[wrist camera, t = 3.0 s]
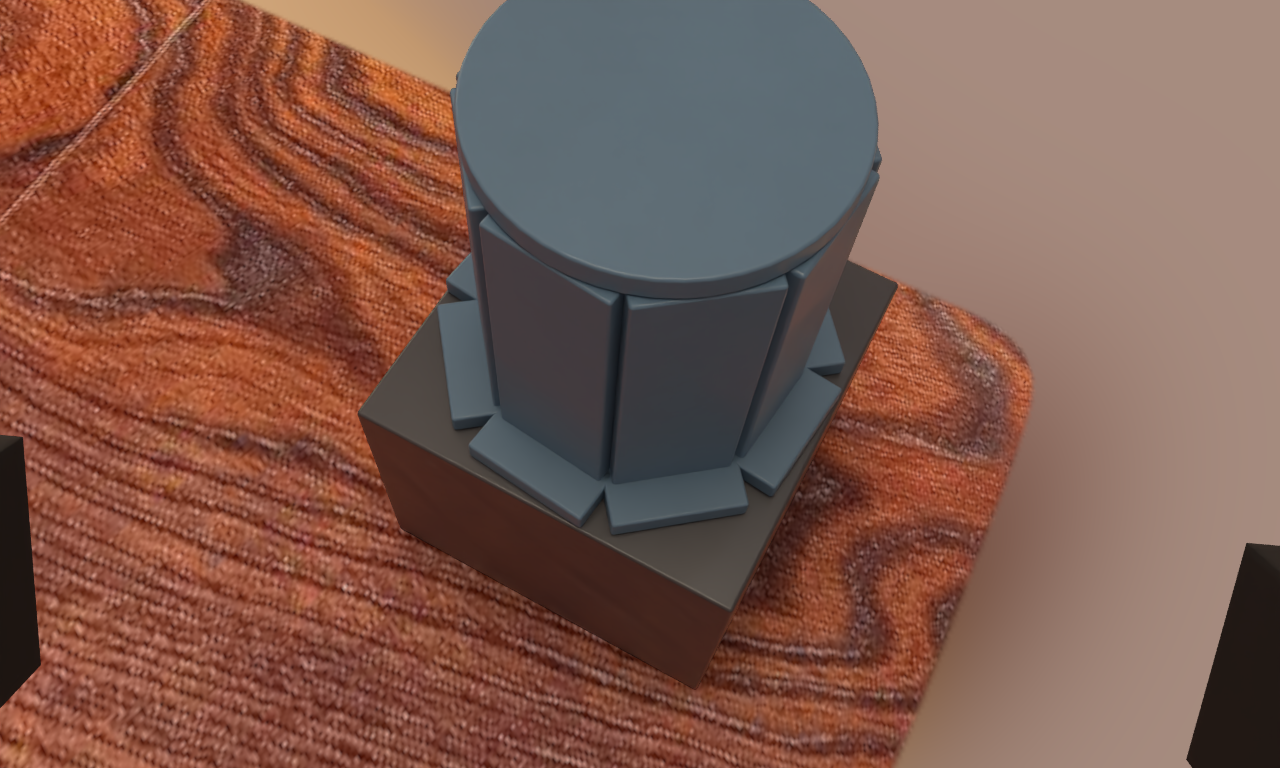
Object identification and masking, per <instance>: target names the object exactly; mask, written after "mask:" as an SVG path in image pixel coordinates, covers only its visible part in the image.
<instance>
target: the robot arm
mask: <svg viewBox="0 0 1280 768" xmlns="http://www.w3.org/2000/svg"><path fill="white" fill-rule="evenodd" d="M40 665H41V661H40V648H39V636H38V623H37V611H36V598H35V585H34V573H33V560H32V547H31V535H30V522H29V510H28V497H27V484H26V472H25V459H24V446H23V437H17V436H6V435H0V708H1V707H2V706H3V705H4V704H5V703H6V701H7V700H8V699H9V698H10V697H11V696H12V695H13V694H14V693H15V692H16V691H17V690H18V689H19V688H20V687H21V685H22V684H23V683H24V682H25V681H26V680H27V679H28V678H29V677H30V676H31V675H32V674H33V673H34V672H35V671H36V670H37V668H38V667H39V666H40ZM1186 760H1187V761H1188V762H1189V764H1190V765H1191V767H1192V768H1280V546H1275V545H1264V544H1252V543H1246V547H1245V551H1244V554H1243V557H1242V561H1241V565H1240V568H1239V572H1238V575H1237V580H1236V583H1235V586H1234V590H1233V594H1232V597H1231V601H1230V604H1229V608H1228V611H1227V615H1226V619H1225V622H1224V626H1223V629H1222V633H1221V637H1220V640H1219V644H1218V647H1217V651H1216V655H1215V658H1214V662H1213V665H1212V669H1211V673H1210V676H1209V680H1208V683H1207V687H1206V691H1205V694H1204V698H1203V702H1202V705H1201V709H1200V712H1199V716H1198V719H1197V723H1196V727H1195V730H1194V734H1193V738H1192V742H1191V745H1190V748H1189V752H1188V755H1187V759H1186Z"/></svg>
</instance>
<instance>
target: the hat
mask: <svg viewBox="0 0 1280 768" xmlns="http://www.w3.org/2000/svg"><path fill="white" fill-rule="evenodd" d="M456 80H457V84H456V88H452V89H451V91H450V96H451V104H452V111H453V119H454V126H455V134H456V141H457V149H458V156H459V164H460V171H461V179H462V186H463V194H464V201H465V209H466V216H467V224H468V232H469V239H470V247H471V253H470V254H469V255H468V256H467V257H466V258H465V259H464V260H463V261H462V262H461V264H460V265H459V266H458V267H457V268H456V269H455V270H454V271H453V272H452V273H451V275H450V276H449V277H448V278H447V279H446V284H447V290H448V292H449V293H451V294H452V295H454V296H456V297H457V298H459V299H460V300H462V302H455V303H447V304H440V305H438V306H437V312H438V320H439V327H440V335H441V342H442V350H443V358H444V365H445V373H446V381H447V388H448V396H449V404H450V411H451V419H452V424H453V428H454V429H455V430H459V429H465V428H472V427H479V426H483V428H482V429H481V430H480V431H479V432H478V434H477V435H476V436H475V437H474V438H473V440H472V441H471V442H470V443H469V451H470V455H471V456H473V457H474V458H475V459H477V460H478V461H480V462H481V463H483V464H484V465H486V466H487V467H489V468H490V469H492V470H493V471H495V472H496V473H498V474H499V475H501V476H502V477H504V478H505V479H507V480H508V481H510V482H511V483H513V484H514V485H516V486H517V487H519V488H520V489H522V490H523V491H525V492H526V493H528V494H529V495H531V496H532V497H534V498H535V499H537V500H538V501H540V502H541V503H543V504H544V505H545V506H547V507H548V508H550V509H551V510H553V511H554V512H556V513H557V514H559V515H560V516H562V517H563V518H565V519H566V520H568V521H569V522H571V523H572V524H574V525H575V526H577V527H579V528H580V527H582V526H583V524H584V523H585V522H586V520H587V519H588V518H589V516H590V515H591V514H592V512H593V511H594V510H595V508H596V507H597V506H598V504H599V503H600V502H601V500H602V499H603V498H604V501H605V507H606V512H607V517H608V522H609V528H610V532H611V534H613V535H616V534H622V533H628V532H634V531H640V530H646V529H652V528H658V527H665V526H671V525H677V524H683V523H689V522H695V521H701V520H707V519H713V518H720V517H726V516H732V515H738V514H744V513H745V512H746V510H747V508H748V505H749V501H748V497H747V493H746V489H745V485H744V481H743V480H745V481H746V482H748V483H749V484H751V485H753V486H754V487H756V488H757V489H759V490H760V491H762V492H764V493H765V494H767V495H768V496H773V495H774V494H775V492H776V491H777V489H778V488H779V486H780V485H781V483H782V482H783V480H784V479H785V477H786V476H787V474H788V473H789V471H790V470H791V468H792V467H793V465H794V464H795V462H796V461H797V459H798V458H799V456H800V455H801V453H802V452H803V450H804V449H805V448H806V446H807V445H808V443H809V442H810V440H811V439H812V437H813V436H814V434H815V433H816V431H817V430H818V428H819V427H820V425H821V424H822V422H823V421H824V419H825V418H826V416H827V415H828V413H829V412H830V410H831V409H832V407H833V406H834V404H835V403H836V401H837V400H838V398H839V396H840V394H841V388H840V387H838V386H836V385H835V384H833V383H831V382H830V381H828V380H827V379H825V378H823V377H822V376H823V375H830V374H837V373H840V372H841V371H842V369H843V367H844V365H845V359H844V355H843V352H842V349H841V346H840V342H839V339H838V336H837V332H836V329H835V326H834V323H833V319H832V316H831V313H830V310H829V305H830V302H831V300H832V297H833V295H834V292H835V290H836V287H837V285H838V282H839V280H840V277H841V275H842V272H843V270H844V267H845V265H846V262H847V260H848V257H849V254H850V252H851V249H852V247H853V244H854V242H855V239H856V237H857V234H858V232H859V229H860V227H861V224H862V222H863V219H864V217H865V214H866V212H867V209H868V207H869V204H870V201H871V199H872V196H873V194H874V191H875V188H876V186H877V184H878V181H879V174H878V173H877V172H878V169H879V167H880V164H881V161H882V157H881V154H880V151H879V149H878V146H877V142H878V115H877V106H876V100H875V96H874V93H873V89H872V86H871V82H870V79H869V77H868V74H867V72H866V70H865V68H864V65H863V63H862V61H861V59H860V57H859V56H858V54H857V52H856V51H855V49H854V48H853V46H852V45H851V43H850V41H849V40H848V39H847V37H846V36H845V35H844V34H843V33H842V31H841V30H840V29H839V28H838V27H837V25H836V24H835V23H834V22H833V21H832V20H831V19H830V18H829V17H828V16H826V14H825V13H824V12H822V11H821V10H820V9H819V8H818V7H817V6H816V5H815V4H813V3H812V2H811V1H809V0H507V1H505V2H504V3H503V4H502V5H501V6H499V8H498V9H497V10H496V11H495V12H494V13H493V14H492V15H491V16H490V18H489V19H488V20H487V21H486V22H485V23H484V25H483V26H482V28H481V29H480V31H479V32H478V34H477V35H476V37H475V38H474V40H473V41H472V43H471V45H470V47H469V49H468V52H467V54H466V56H465V58H464V60H463V63H462V66H461V69H460V71H459V72H458V73H457V75H456Z"/></svg>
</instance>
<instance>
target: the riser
mask: <svg viewBox="0 0 1280 768" xmlns="http://www.w3.org/2000/svg"><path fill="white" fill-rule="evenodd" d="M897 288H898V284H897V283H895V282H893V281H891V280H889V279H887V278H885V277H883V276H880V275H878V274H876V273H874V272H872V271H870V270H867V269H865V268H863V267H861V266H859V265H857V264H855V263H852V262H850V261H848V260H847V262H846V265H845V267H844V270H843V272H842V275H841V277H840V280H839V282H838V285H837V287H836V290H835V292H834V295H833V297H832V300H831V302H830V305H829V310H830V313H831V316H832V319H833V323H834V326H835V329H836V332H837V336H838V339H839V342H840V346H841V349H842V352H843V355H844V359H845V365H844V367H843V369H842V371H841V372H840V373H837V374H830V375H823V376H822V377H823V378H825V379H827V380H828V381H830V382H831V383H833V384H835V385H836V386H838V387H840V388H841V394H840V396H839V398H838V400H837V401H836V403H835V404H834V406H833V407H832V409H831V410H830V412H829V413H828V415H827V416H826V418H825V419H824V421H823V422H822V424H821V425H820V427H819V428H818V430H817V431H816V433H815V434H814V436H813V437H812V439H811V440H810V442H809V443H808V445H807V446H806V448H805V449H804V450H803V452H802V453H801V455H800V456H799V458H798V459H797V461H796V462H795V464H794V465H793V467H792V468H791V470H790V471H789V473H788V474H787V476H786V477H785V479H784V480H783V482H782V483H781V485H780V486H779V488H778V489H777V491H776V492H775V494H774V495H773V496H768V495H767V494H765V493H764V492H762V491H760V490H759V489H757V488H756V487H754V486H753V485H751V484H749V483H748V482H746V481H745V480H743V481H744V485H745V489H746V493H747V497H748V501H749V505H748V508H747V510H746V512H745V513H744V514H738V515H732V516H726V517H720V518H713V519H707V520H701V521H695V522H689V523H683V524H677V525H671V526H665V527H658V528H652V529H646V530H640V531H634V532H628V533H622V534H616V535H613V534H611V532H610V528H609V522H608V517H607V512H606V507H605V501H604V498H603V499H602V500H601V502H600V503H599V504H598V506H597V507H596V508H595V510H594V511H593V512H592V514H591V515H590V516H589V518H588V519H587V520H586V522H585V523H584V524H583V526H582V527H580V528H579V527H577V526H575V525H574V524H572V523H571V522H569V521H568V520H566V519H565V518H563V517H562V516H560V515H559V514H557V513H556V512H554V511H553V510H551V509H550V508H548V507H547V506H545V505H544V504H543V503H541V502H540V501H538V500H537V499H535V498H534V497H532V496H531V495H529V494H528V493H526V492H525V491H523V490H522V489H520V488H519V487H517V486H516V485H514V484H513V483H511V482H510V481H508V480H507V479H505V478H504V477H502V476H501V475H499V474H498V473H496V472H495V471H493V470H492V469H490V468H489V467H487V466H486V465H484V464H483V463H481V462H480V461H478V460H477V459H475V458H474V457H473V456H471V455H470V451H469V443H470V442H471V441H472V440H473V438H474V437H475V436H476V435H477V434H478V432H479V431H480V430H481V429H482V428H483V426H479V427H472V428H465V429H459V430H455V429H454V428H453V424H452V419H451V411H450V404H449V396H448V388H447V381H446V373H445V365H444V358H443V350H442V342H441V335H440V327H439V320H438V312H437V306H438V305H440V304H447V303H455V302H462V300H460V299H459V298H457V297H456V296H454V295H452V294H451V293H449V292H448V290H447V291H446V293H445V294H444V295H443V297H442V298H441V299H440V301H439V302H438V303H437V305H436V306H435V308H434V309H433V310H432V312H431V313H430V314H429V316H428V317H427V318H426V320H425V321H424V323H423V324H422V325H421V327H420V328H419V329H418V331H417V332H416V333H415V335H414V336H413V337H412V339H411V340H410V342H409V343H408V344H407V346H406V347H405V348H404V350H403V351H402V352H401V354H400V355H399V357H398V358H397V359H396V361H395V362H394V363H393V365H392V366H391V367H390V369H389V370H388V372H387V373H386V374H385V376H384V377H383V378H382V380H381V381H380V382H379V384H378V385H377V387H376V388H375V389H374V391H373V392H372V393H371V395H370V396H369V397H368V399H367V400H366V402H365V403H364V404H363V406H362V407H361V408H360V410H359V411H358V417H359V419H360V422H361V425H362V427H363V430H364V433H365V435H366V438H367V441H368V443H369V446H370V448H371V451H372V454H373V456H374V459H375V462H376V464H377V467H378V470H379V472H380V475H381V478H382V480H383V483H384V486H385V488H386V491H387V494H388V496H389V499H390V502H391V504H392V507H393V509H394V512H395V515H396V517H397V520H398V523H399V525H400V527H401V529H403V530H405V531H407V532H409V533H410V534H412V535H414V536H416V537H418V538H419V539H421V540H423V541H425V542H427V543H429V544H430V545H432V546H434V547H436V548H438V549H440V550H441V551H443V552H445V553H447V554H449V555H450V556H452V557H454V558H456V559H458V560H460V561H461V562H463V563H465V564H467V565H469V566H471V567H472V568H474V569H476V570H478V571H480V572H481V573H483V574H485V575H487V576H489V577H491V578H492V579H494V580H496V581H498V582H500V583H502V584H503V585H505V586H507V587H509V588H511V589H512V590H514V591H516V592H518V593H520V594H522V595H523V596H525V597H527V598H529V599H531V600H533V601H534V602H536V603H538V604H540V605H542V606H543V607H545V608H547V609H549V610H551V611H553V612H554V613H556V614H558V615H560V616H562V617H564V618H565V619H567V620H569V621H571V622H573V623H574V624H576V625H578V626H580V627H582V628H584V629H585V630H587V631H589V632H591V633H593V634H595V635H596V636H598V637H600V638H602V639H604V640H605V641H607V642H609V643H611V644H613V645H615V646H616V647H618V648H620V649H622V650H624V651H625V652H627V653H629V654H631V655H633V656H635V657H636V658H638V659H640V660H642V661H644V662H646V663H647V664H649V665H651V666H653V667H655V668H656V669H658V670H660V671H662V672H664V673H666V674H667V675H669V676H671V677H673V678H675V679H677V680H678V681H680V682H682V683H684V684H686V685H687V686H689V687H691V688H693V689H696V688H698V686H699V684H700V682H701V680H702V678H703V676H704V674H705V672H706V670H707V668H708V666H709V664H710V662H711V660H712V658H713V656H714V654H715V652H716V650H717V648H718V646H719V644H720V642H721V640H722V638H723V636H724V634H725V632H726V631H727V629H728V627H729V625H730V623H731V621H732V619H733V617H734V615H735V613H736V611H737V609H738V607H739V605H740V603H741V601H742V599H743V597H744V595H745V593H746V591H747V589H748V587H749V585H750V583H751V581H752V579H753V577H754V575H755V573H756V571H757V569H758V567H759V565H760V563H761V561H762V559H763V557H764V555H765V554H766V552H767V550H768V548H769V546H770V544H771V542H772V540H773V538H774V536H775V534H776V532H777V530H778V528H779V526H780V524H781V522H782V520H783V518H784V516H785V514H786V512H787V510H788V508H789V506H790V504H791V502H792V500H793V498H794V496H795V494H796V492H797V490H798V488H799V486H800V484H801V482H802V480H803V478H804V477H805V475H806V473H807V471H808V469H809V467H810V465H811V463H812V461H813V459H814V457H815V455H816V453H817V451H818V449H819V447H820V445H821V443H822V441H823V439H824V437H825V435H826V433H827V431H828V429H829V427H830V425H831V423H832V421H833V419H834V417H835V415H836V413H837V411H838V409H839V407H840V405H841V403H842V401H843V399H844V397H845V395H846V393H847V391H848V388H849V386H850V384H851V382H852V380H853V378H854V376H855V374H856V372H857V370H858V368H859V366H860V364H861V362H862V360H863V358H864V356H865V354H866V351H867V349H868V347H869V345H870V343H871V341H872V339H873V337H874V335H875V333H876V331H877V329H878V327H879V325H880V323H881V321H882V319H883V316H884V314H885V312H886V310H887V308H888V306H889V304H890V302H891V300H892V298H893V296H894V294H895V292H896V290H897Z"/></svg>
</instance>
